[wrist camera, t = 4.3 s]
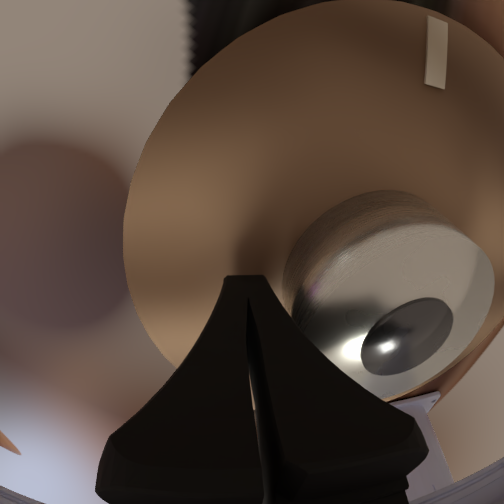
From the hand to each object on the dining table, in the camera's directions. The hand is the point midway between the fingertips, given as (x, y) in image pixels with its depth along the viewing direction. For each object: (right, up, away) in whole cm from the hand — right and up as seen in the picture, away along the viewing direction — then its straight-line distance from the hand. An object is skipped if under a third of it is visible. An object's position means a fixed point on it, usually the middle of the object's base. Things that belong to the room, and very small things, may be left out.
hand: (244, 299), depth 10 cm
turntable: (+6, +1, +2) cm, 6 cm away
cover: (+5, +1, +1) cm, 5 cm away
